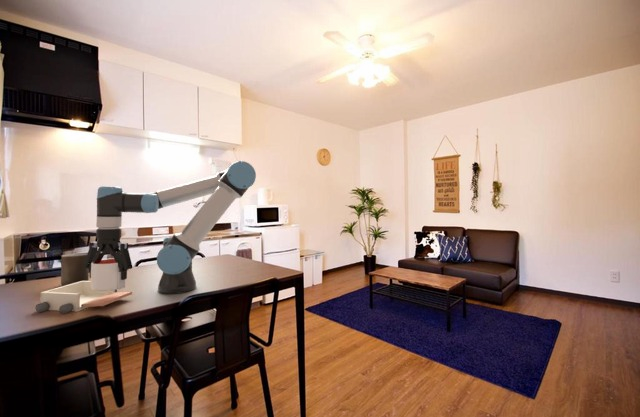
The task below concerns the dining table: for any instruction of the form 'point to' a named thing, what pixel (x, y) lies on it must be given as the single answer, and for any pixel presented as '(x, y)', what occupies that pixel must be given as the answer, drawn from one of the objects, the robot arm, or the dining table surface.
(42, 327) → the dining table surface
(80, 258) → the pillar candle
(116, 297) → the panel
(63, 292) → the truck bed
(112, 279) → the cup
